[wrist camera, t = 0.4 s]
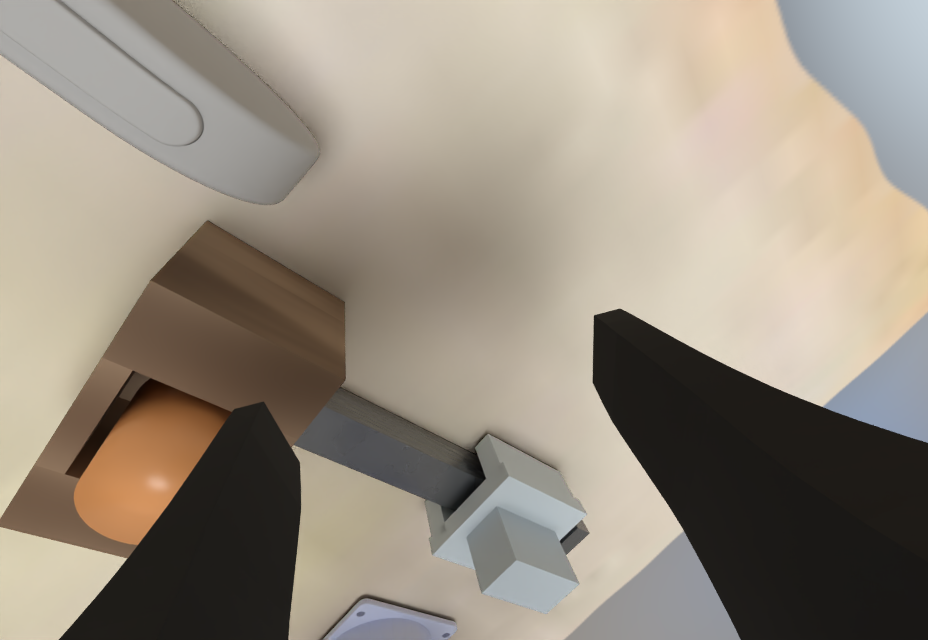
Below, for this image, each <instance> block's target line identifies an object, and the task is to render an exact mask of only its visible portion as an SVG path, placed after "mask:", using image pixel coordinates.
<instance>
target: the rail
mask: <svg viewBox="0 0 928 640" xmlns="http://www.w3.org/2000/svg"><path fill="white" fill-rule="evenodd" d="M294 445H295V446H298V447H300V448H303V449H305V450H307V451H310V452H312V453H315V454H317V455H320V456H322V457H324V458H327V459H329V460H332V461H334V462H337V463H339V464H341V465H344V466H346V467H349V468H351V469H354V470H356V471H358V472H361V473H363V474H366V475H368V476H371V477H373V478H375V479H378V480H380V481H383V482H385V483H388V484H390V485H392V486H395V487H397V488H400V489H402V490H405V491H407V492H410V493H412V494H414V495H417V496H419V497H422V498H424V499H427V500H429V501H431V502H434V503H436V504H439V505H441V506H444V507H446V508H448V509H451V510H453V511H456V510H457V509H458V508H459V507H460V506H461V505H462V504H463V502H464V501H465V500H466V499H467V498H468V497H469V496H470V495H471V494H472V493H473V492H474V491H475V490H476V489H477V488H478V487H479V486H480V485H481V484H482V483H483V482H484V480H485V479H486V477H485V474H484V471H483V468H482V466H481V463H480V460H479V457H478V456H477V455H475V454H473V453H471V452H469V451H467V450H465V449H463V448H461V447H459V446H457V445H455V444H453V443H451V442H449V441H447V440H445V439H443V438H441V437H439V436H437V435H435V434H433V433H431V432H429V431H427V430H425V429H423V428H421V427H419V426H417V425H415V424H413V423H411V422H409V421H407V420H405V419H403V418H401V417H399V416H397V415H394V414H392V413H390V412H388V411H386V410H384V409H382V408H380V407H378V406H376V405H374V404H372V403H370V402H368V401H366V400H364V399H362V398H360V397H358V396H356V395H354V394H352V393H350V392H348V391H346V390H344V389H342V388H340V387H339V389H338V390H337V391H336V392H335V394H334V395H333V396H332V397H331V399H330V400H329V401H328V402H327V404H326V405H325V406H324V407H323V409H322V410H321V411H320V412H319V414H318V415H317V416H316V417H315V419H314V420H313V421H312V422H311V424H310V425H309V426H308V427H307V429H306V430H305V431H304V432H303V434H302V435H301V436H300V437H299V439H298V440H297V441H296V442H295V444H294ZM588 534H589V532H588V530H587V528H586V526H585V524H584V522H583V521H582V520H581V521H580V522H579V523H578V524H577V525H575V526H574V527H573V528H572V529H571V530H570V531H569V532H568V533H567V534H566V535H565V536H564V537H563V538H562V539H561V540H560V543H561V546H562V548H563V550H564V552H565V554H566V555H567V554H568V553H569V552H570V551H571V550H572V549H573V548H574V547H575V546H576V545H577V544H579V543H580V542H581V541H582V540H583V539H584V538H585V537H586V536H587V535H588Z"/></svg>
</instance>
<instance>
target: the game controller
mask: <svg viewBox="0 0 928 640" xmlns="http://www.w3.org/2000/svg"><path fill="white" fill-rule="evenodd" d="M0 55H2V56H3V57H5V58H6V59H7V60H9V61H10V62H12V63H13V64H14V65H16V66H17V67H19V68H20V69H21V70H23V71H24V72H26V73H27V74H28V75H30V76H31V77H33V78H34V79H36V80H37V81H38V82H40V83H41V84H43V85H44V86H45V87H47V88H48V89H50V90H51V91H53V92H54V93H55V94H57V95H58V96H60V97H61V98H63V99H64V100H65V101H67V102H68V103H70V104H71V105H72V106H74V107H75V108H77V109H78V110H80V111H81V112H82V113H84V114H85V115H87V116H88V117H90V118H91V119H92V120H94V121H95V122H97V123H98V124H100V125H101V126H103V127H104V128H106V129H107V130H109V131H110V132H112V133H113V134H115V135H116V136H118V137H119V138H121V139H122V140H124V141H126V142H127V143H129V144H130V145H132V146H134V147H135V148H137V149H138V150H140V151H142V152H143V153H145V154H147V155H148V156H150V157H152V158H154V159H155V160H157V161H159V162H160V163H162V164H164V165H166V166H168V167H169V168H171V169H173V170H175V171H177V172H179V173H180V174H182V175H184V176H186V177H188V178H190V179H192V180H194V181H196V182H198V183H200V184H202V185H204V186H207V187H209V188H211V189H213V190H216V191H218V192H220V193H223V194H225V195H228V196H231V197H233V198H236V199H239V200H243V201H246V202H250V203H254V204H261V205H272V204H277V203H279V202H281V201H283V200H284V199H285V198H286V196H287V195H288V194H289V193H290V192H291V191H292V189H293V188H294V187H295V186H296V185H297V183H298V182H299V181H300V180H301V179H302V177H303V176H304V175H305V174H306V173H307V171H308V170H309V169H310V168H311V166H312V165H313V164H314V163H315V161H316V160H317V159H318V157H319V155H320V149H319V145H318V143H317V141H316V139H315V138H314V136H313V135H312V134H311V132H310V131H309V130H308V128H307V127H306V126H305V125H304V123H303V122H302V121H301V120H300V119H299V118H298V117H297V116H296V114H295V113H294V112H293V111H292V110H291V109H290V108H289V107H288V106H287V105H286V104H285V103H284V102H283V101H282V100H281V99H280V98H279V97H278V96H277V95H276V94H275V93H274V92H273V91H272V90H271V89H270V88H269V87H268V86H267V85H266V84H265V83H264V82H263V81H262V80H261V79H260V78H259V77H258V76H257V75H256V74H255V73H254V72H253V71H252V70H251V69H249V68H248V67H247V66H246V65H245V64H244V63H243V62H242V61H241V60H240V59H239V58H238V57H237V56H235V55H234V54H233V53H232V52H231V51H230V50H229V49H228V48H227V47H225V46H224V45H223V44H222V43H221V42H220V41H219V40H218V39H216V38H215V37H214V36H213V35H212V34H211V33H210V32H209V31H207V30H206V29H205V28H204V27H203V26H202V25H201V24H199V23H198V22H197V21H196V20H195V19H194V18H192V17H191V16H190V15H189V14H188V13H187V12H185V11H184V10H183V9H182V8H181V7H179V6H178V5H177V4H176V3H175V2H174V1H172V0H0Z"/></svg>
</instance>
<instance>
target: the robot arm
mask: <svg viewBox="0 0 928 640" xmlns="http://www.w3.org/2000/svg"><path fill="white" fill-rule="evenodd" d="M593 384H594V386H595V388H596V390H597V392H598V394H599V396H600V399H601V401H602V403H603V405H604V407H605V409H606V410H607V412H608V414H609V416H610V418H611V420H612V422H613V423H614V425H615V426H616V428H617V430H618V431H619V433H620V434H621V436H622V437H623V439H624V440H625V442H626V443H627V445H628V446H629V448H630V449H631V451H632V452H633V454H634V455H635V457H636V458H637V460H638V461H639V462H640V464H641V465H642V467H643V468H644V470H645V471H646V473H647V474H648V476H649V477H650V479H651V480H652V482H653V483H654V485H655V486H656V488H657V489H658V491H659V492H660V494H661V495H662V497H663V498H664V499H665V501H666V502H667V504H668V505H669V507H670V509H671V510H672V512H673V513H674V515H675V517H676V518H677V520H678V521H679V523H680V525H681V526H682V528H683V530H684V532H685V533H686V535H687V537H688V539H689V541H690V543H691V544H692V546H693V548H694V550H695V552H696V553H697V556H698V557H699V559H700V561H701V563H702V565H703V567H704V569H705V570H706V572H707V574H708V576H709V578H710V580H711V582H712V583H713V586H714V588H715V590H716V591H717V593H718V595H719V597H720V599H721V601H722V603H723V605H724V607H725V609H726V611H727V612H728V614H729V617H730V618H731V621H732V623H733V625H734V626H735V628H736V631H737V633H738V635H739V637H740V639H741V640H928V443H926V442H923V441H920V440H916V439H913V438H910V437H907V436H904V435H900V434H897V433H895V432H891V431H889V430H885V429H883V428H879V427H877V426H874V425H870V424H867V423H864V422H861V421H858V420H856V419H853V418H850V417H847V416H845V415H842V414H839V413H836V412H833V411H831V410H828V409H826V408H823V407H821V406H818V405H816V404H813V403H811V402H808V401H805V400H803V399H800V398H798V397H795V396H793V395H790V394H788V393H786V392H783V391H781V390H779V389H776V388H774V387H772V386H769V385H767V384H765V383H763V382H761V381H758V380H756V379H754V378H752V377H750V376H748V375H746V374H743V373H741V372H739V371H737V370H735V369H733V368H731V367H729V366H727V365H725V364H723V363H721V362H719V361H717V360H715V359H713V358H711V357H709V356H707V355H705V354H703V353H701V352H699V351H697V350H695V349H694V348H692V347H690V346H688V345H686V344H684V343H682V342H681V341H679V340H677V339H675V338H673V337H671V336H670V335H668V334H666V333H664V332H662V331H661V330H659V329H657V328H655V327H653V326H652V325H650V324H648V323H646V322H644V321H643V320H641V319H639V318H637V317H635V316H633V315H632V314H630V313H628V312H626V311H624V310H622V309H617V310H613V311H609V312H605V313H601V314H597V315H594V339H593ZM300 514H301V481H300V462H299V460H298V459H297V457H296V455H295V453H294V452H293V450H292V448H291V447H290V445H289V443H288V442H287V440H286V438H285V437H284V435H283V433H282V431H281V430H280V428H279V426H278V425H277V423H276V421H275V420H274V418H273V416H272V414H271V413H270V411H269V409H268V408H267V406H266V404H265V403H264V401H263V402H259V403H255V404H252V405H248V406H244V407H240V408H236V409H234V410H233V411H232V413H231V414H230V415H229V417H228V418H227V420H226V421H225V423H224V424H223V426H222V427H221V428H220V430H219V431H218V433H217V434H216V436H215V437H214V439H213V440H212V442H211V443H210V445H209V446H208V448H207V449H206V451H205V452H204V454H203V455H202V457H201V458H200V460H199V461H198V463H197V464H196V466H195V467H194V468H193V470H192V471H191V473H190V474H189V476H188V477H187V479H186V480H185V481H184V483H183V484H182V486H181V487H180V489H179V490H178V491H177V493H176V494H175V496H174V497H173V499H172V500H171V502H170V503H169V504H168V506H167V507H166V508H165V510H164V511H163V512H162V514H161V515H160V516H159V518H158V519H157V520H156V522H155V523H154V524H153V526H152V527H151V528H150V530H149V531H148V532H147V534H146V535H145V536H144V538H143V539H142V540H141V542H140V543H139V544H138V546H137V547H136V548H135V550H134V551H133V552H132V553H131V555H130V556H129V557H128V559H127V560H126V561H125V563H124V564H123V565H122V566H121V568H120V569H119V570H118V571H117V573H116V574H115V575H114V576H113V577H112V579H111V580H110V581H109V582H108V583H107V585H106V586H105V587H104V588H103V590H102V591H101V592H100V593H99V594H98V595H97V597H96V598H95V599H94V600H93V601H92V602H91V604H90V605H89V606H88V607H87V608H86V609H85V610H84V612H83V613H82V614H81V615H80V616H79V617H78V619H77V620H76V621H75V622H74V623H73V624H72V626H71V627H70V628H69V629H68V630H67V631H66V632H65V633H64V634H63V636H62V637H61V638H60V639H59V640H288V635H289V620H290V611H291V601H292V592H293V583H294V573H295V564H296V555H297V545H298V535H299V525H300ZM456 631H457V624H456V622H454V621H450V620H447V619H443V618H439V617H436V616H432V615H428V614H424V613H421V612H417V611H413V610H410V609H406V608H402V607H398V606H395V605H391V604H387V603H384V602H380V601H376V600H372V599H368V598H365V599H362V600H360V601H359V602H358V603H357V604H356V605H355V606H354V607H353V608H352V609H351V610H350V611H349V612H348V613H347V614H346V615H345V616H344V618H343V619H342V620H341V621H340V622H339V623H338V624H337V625H336V626H335V627H334V628H333V629H332V630H331V631H330V632H329V633H328V634H327V635H326V637H325V638H324V639H323V640H448V639H449V638H450V637H451V636H452V635H453V634H454V633H455V632H456Z"/></svg>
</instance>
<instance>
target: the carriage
mask: <svg viewBox="0 0 928 640" xmlns="http://www.w3.org/2000/svg"><path fill="white" fill-rule="evenodd" d="M475 449H476V452H477V455H478V457H479V460H480V463H481V466H482V468H483V471H484V474H485V477H486V479H485V480H484V482H483V483H482V484H481V485H480V486H479V487H478V488H477V489H476V490H475V491H474V492H473V493H472V494H471V495H470V496H469V497H468V498H467V499H466V500H465V501H464V502H463V504H462V505H461V506H460V507H459V508H458V509H457V510H456V511H453V510H451V509H448V508H446V507H444V506H441V505H439V504H436V503H434V502H431V501H429V500H426V501H425V506H426V511H427V516H428V521H429V527H430V532H431V537H430V538H429V541H430V546H431V551H432V555H433V556H436V557H439V558H441V559H444V560H447V561H450V562H453V563H456V564H459V565H462V566H465V567H468V568H471V569H473V570H475V571H476V575H477V578H478V582H479V586H480V589H481V593H482V594H485V595H488V596H491V597H494V598H497V599H500V600H503V601H507V602H510V603H513V604H516V605H519V606H522V607H526V608H529V609H532V610H535V611H538V612H541V613H545V614H547V613H548V612H549V611H550V610H551V609H552V608H553V607H555V606H556V605H557V604H558V603H559V602H560V601H561V600H562V599H563V598H565V597H566V596H567V595H568V594H569V593H570V592H571V591H572V590H573V589H574V588H576V587H577V586H578V585H579V582H578V580H577V577H576V575H575V573H574V571H573V569H572V567H571V565H570V563H569V560H568V558H567V556H566V554H565V552H564V550H563V548H562V546H561V543H560V540H561V539H562V538H563V537H564V536H565V535H566V534H567V533H568V532H569V531H570V530H571V529H572V528H573V527H574V526H575V525H577V524H578V523H579V522H580V521H581V520H582V519H583V518H584V517H585V516H586V515H587V513H586V511H585V510H584V508H583V506H582V504H581V502H580V501H579V500H578V499H576V498H574V497H573V495H572V493H571V491H570V489H569V488H568V486H567V484H566V482H565V480H564V479H563V477H562V475H561V473H560V472H559V471H557V470H555V469H553V468H551V467H549V466H548V465H546V464H544V463H542V462H540V461H538V460H536V459H535V458H533V457H531V456H529V455H527V454H525V453H523V452H521V451H520V450H518V449H516V448H514V447H512V446H510V445H508V444H506V443H505V442H503V441H501V440H499V439H497V438H495V437H493V436H491V435H490V434H487V435H486V436H485V437H484V438H483V439H482V440H481V441H480V443H479V444H478V445H477V446H476V447H475Z"/></svg>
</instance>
